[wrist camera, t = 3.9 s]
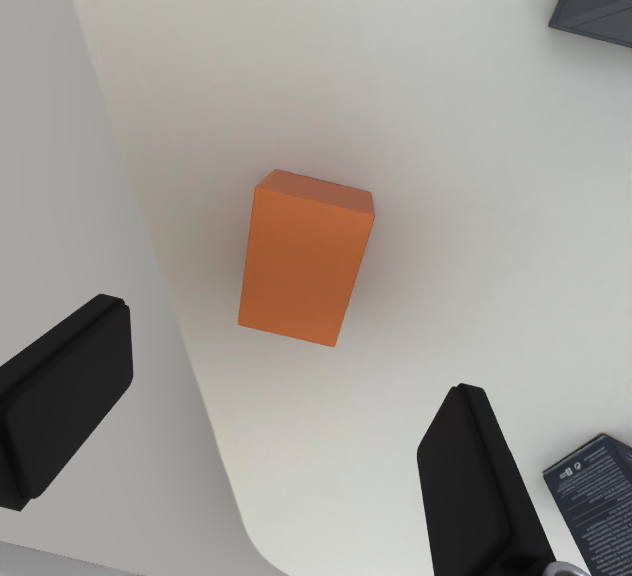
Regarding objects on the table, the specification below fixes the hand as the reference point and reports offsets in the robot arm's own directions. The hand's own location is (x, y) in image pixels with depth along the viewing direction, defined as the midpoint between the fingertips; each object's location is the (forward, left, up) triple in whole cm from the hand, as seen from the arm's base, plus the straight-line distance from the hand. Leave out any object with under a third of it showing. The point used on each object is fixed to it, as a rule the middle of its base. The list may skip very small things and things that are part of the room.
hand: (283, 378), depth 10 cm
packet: (0, 0, -11) cm, 11 cm away
